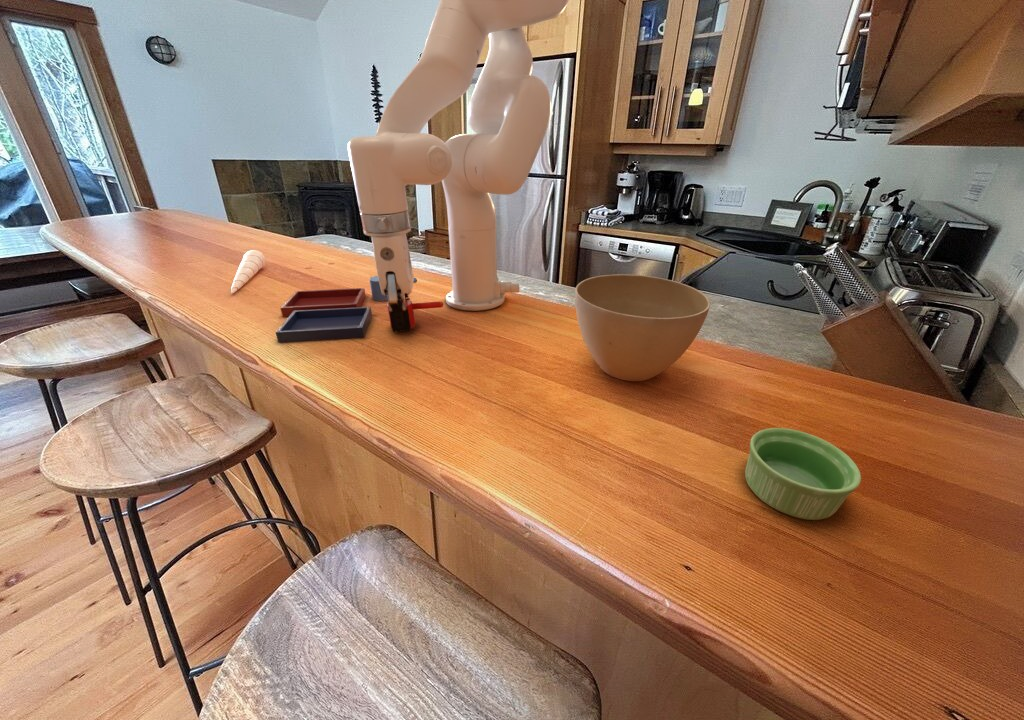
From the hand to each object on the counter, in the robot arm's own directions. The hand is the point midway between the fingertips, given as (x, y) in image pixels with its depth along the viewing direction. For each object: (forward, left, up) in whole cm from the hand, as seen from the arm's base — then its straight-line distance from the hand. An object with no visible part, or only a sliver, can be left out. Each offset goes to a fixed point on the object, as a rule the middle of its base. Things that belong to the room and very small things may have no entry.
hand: (402, 323), depth 76 cm
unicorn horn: (+40, -36, -1) cm, 54 cm away
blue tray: (+14, -2, -1) cm, 14 cm away
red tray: (+17, -14, -1) cm, 22 cm away
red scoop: (-3, 0, 0) cm, 3 cm away
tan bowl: (-35, +21, -1) cm, 41 cm away
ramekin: (-41, +47, -1) cm, 62 cm away
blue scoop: (+3, -17, -1) cm, 18 cm away
